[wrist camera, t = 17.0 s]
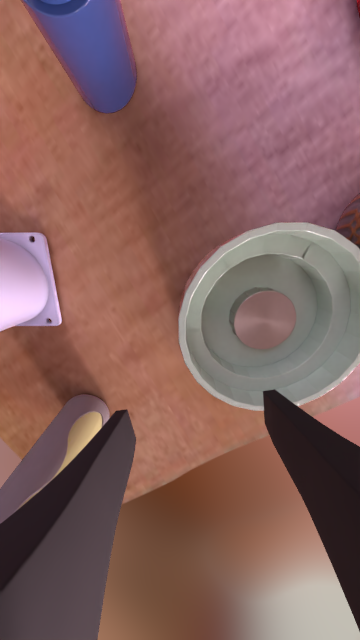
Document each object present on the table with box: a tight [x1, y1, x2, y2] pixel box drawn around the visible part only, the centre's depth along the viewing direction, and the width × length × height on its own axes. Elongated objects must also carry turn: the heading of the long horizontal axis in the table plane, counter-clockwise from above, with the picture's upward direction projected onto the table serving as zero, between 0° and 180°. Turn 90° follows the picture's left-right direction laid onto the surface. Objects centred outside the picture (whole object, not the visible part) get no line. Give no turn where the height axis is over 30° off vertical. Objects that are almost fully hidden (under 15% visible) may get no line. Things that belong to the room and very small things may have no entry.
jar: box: [21, 0, 137, 113], centre depth 10 cm, size 4×4×8 cm
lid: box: [229, 287, 296, 349], centre depth 17 cm, size 5×5×2 cm
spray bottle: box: [0, 394, 110, 524], centre depth 12 cm, size 5×5×20 cm
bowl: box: [179, 222, 360, 411], centre depth 16 cm, size 14×14×4 cm
